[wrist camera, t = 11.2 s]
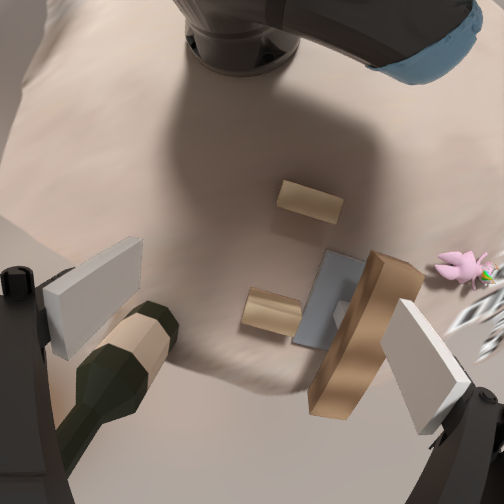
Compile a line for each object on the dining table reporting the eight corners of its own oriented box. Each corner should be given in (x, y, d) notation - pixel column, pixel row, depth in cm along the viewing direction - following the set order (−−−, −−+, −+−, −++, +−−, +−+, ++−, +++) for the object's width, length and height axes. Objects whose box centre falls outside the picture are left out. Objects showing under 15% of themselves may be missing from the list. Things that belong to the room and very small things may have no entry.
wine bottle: (189, 323, 43) (97, 493, 14) (164, 355, 45) (79, 505, 17) (145, 290, 43) (11, 428, 14) (123, 325, 45) (11, 454, 16)
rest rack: (283, 179, 37) (284, 180, 32) (335, 195, 37) (344, 199, 32) (244, 305, 42) (240, 322, 37) (292, 319, 42) (293, 337, 37)
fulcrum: (326, 249, 39) (336, 267, 31) (396, 271, 38) (418, 292, 31) (292, 337, 42) (294, 369, 35) (358, 353, 42) (370, 384, 35)
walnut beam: (371, 250, 30) (384, 262, 26) (408, 262, 30) (425, 276, 26) (307, 391, 36) (309, 414, 31) (341, 397, 36) (346, 420, 31)
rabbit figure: (492, 252, 38) (435, 235, 36) (515, 264, 32) (462, 248, 30) (480, 287, 39) (422, 277, 37) (502, 301, 34) (446, 294, 32)
